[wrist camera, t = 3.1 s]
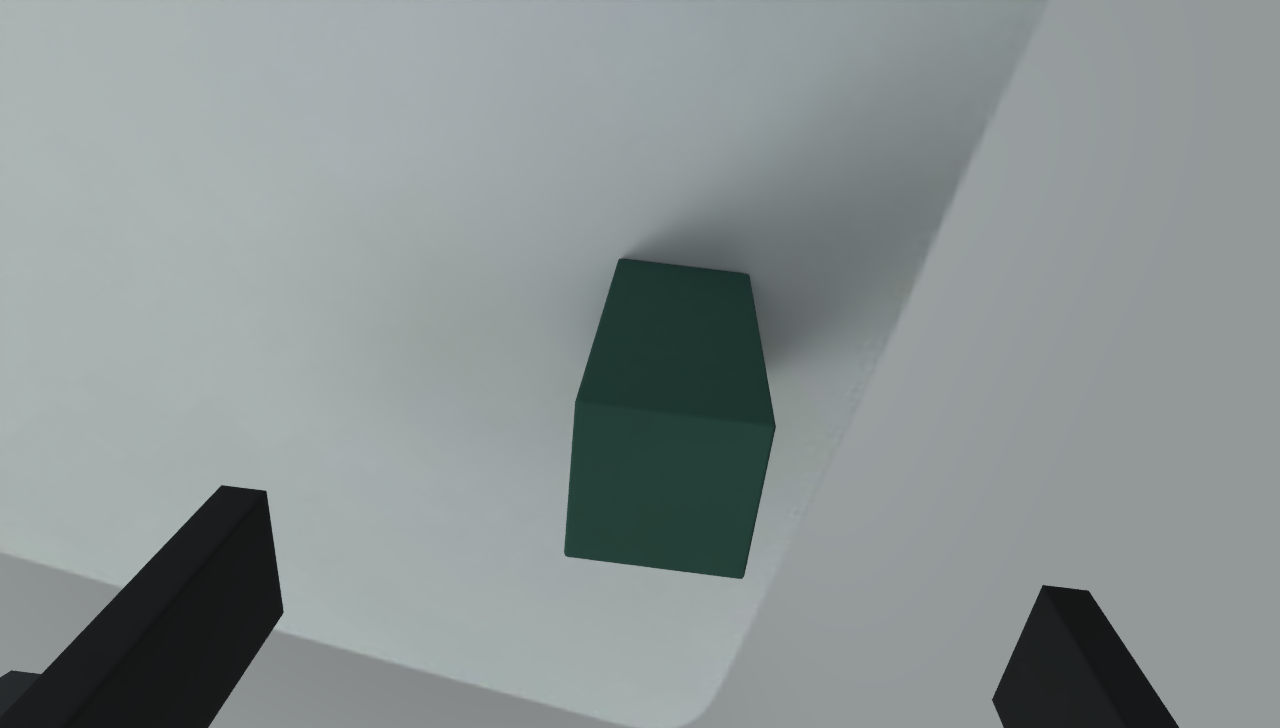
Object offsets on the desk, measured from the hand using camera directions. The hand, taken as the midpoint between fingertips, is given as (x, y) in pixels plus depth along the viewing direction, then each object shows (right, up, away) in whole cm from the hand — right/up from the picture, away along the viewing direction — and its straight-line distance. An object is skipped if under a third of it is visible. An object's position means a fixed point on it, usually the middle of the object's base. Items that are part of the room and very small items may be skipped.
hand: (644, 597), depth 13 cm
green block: (+1, +5, +11) cm, 12 cm away
